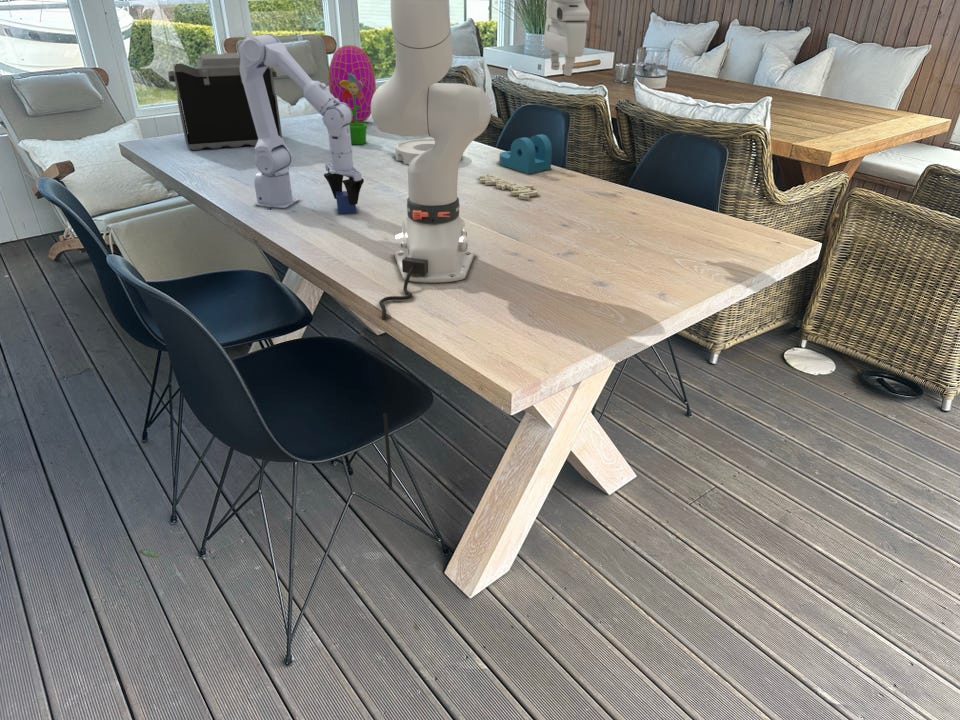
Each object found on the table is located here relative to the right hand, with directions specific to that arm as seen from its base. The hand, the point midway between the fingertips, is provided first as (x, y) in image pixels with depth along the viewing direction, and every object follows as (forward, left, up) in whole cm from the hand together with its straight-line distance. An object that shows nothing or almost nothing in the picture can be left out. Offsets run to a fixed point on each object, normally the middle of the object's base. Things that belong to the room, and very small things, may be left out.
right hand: (561, 72), depth 170 cm
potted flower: (+88, +62, -38) cm, 114 cm away
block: (+7, +57, -38) cm, 68 cm away
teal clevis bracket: (+55, +3, -38) cm, 66 cm away
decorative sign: (+29, +9, -38) cm, 48 cm away
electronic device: (+91, +109, -38) cm, 147 cm away
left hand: (+7, +57, -35) cm, 67 cm away
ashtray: (+66, +35, -38) cm, 83 cm away
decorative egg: (+125, +67, -38) cm, 147 cm away
